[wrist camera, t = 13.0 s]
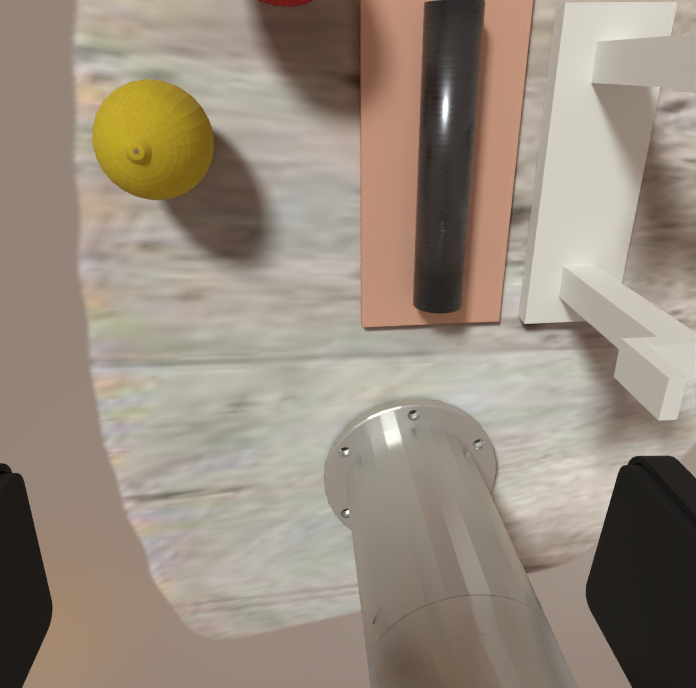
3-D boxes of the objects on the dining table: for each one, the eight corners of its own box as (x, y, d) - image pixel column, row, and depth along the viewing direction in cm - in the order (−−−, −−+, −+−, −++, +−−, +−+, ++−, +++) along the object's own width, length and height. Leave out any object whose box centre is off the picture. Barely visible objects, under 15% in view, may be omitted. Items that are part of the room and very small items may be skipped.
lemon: (242, 132, 33) (227, 151, 26) (179, 203, 34) (148, 241, 27) (162, 53, 31) (121, 50, 24) (98, 132, 32) (41, 152, 25)
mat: (496, 317, 39) (499, 321, 38) (361, 323, 38) (361, 327, 38) (533, -40, 30) (537, -42, 30) (359, -40, 30) (361, -42, 29)
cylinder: (455, 294, 37) (468, 312, 35) (409, 296, 37) (417, 314, 34) (476, 4, 30) (493, -2, 28) (418, 5, 30) (430, -1, 28)
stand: (605, 312, 39) (775, 448, 25) (518, 316, 39) (642, 456, 25) (664, 4, 32) (955, -45, 18) (556, 5, 31) (766, -45, 17)
